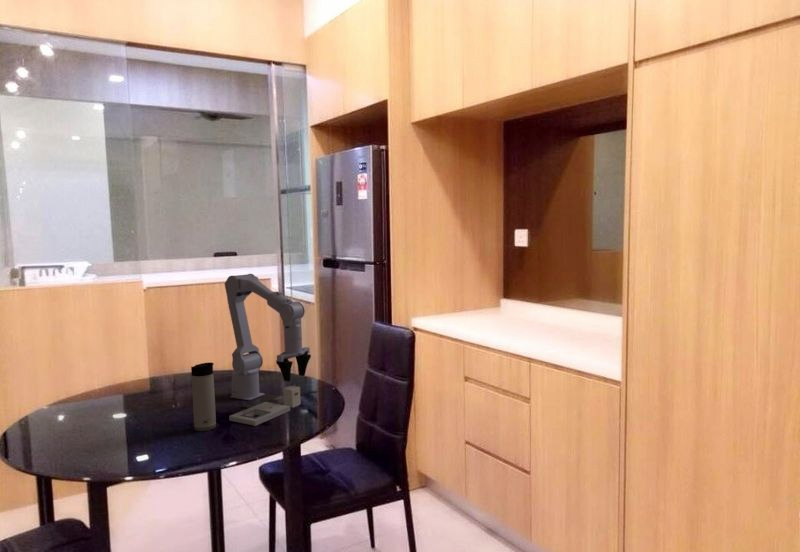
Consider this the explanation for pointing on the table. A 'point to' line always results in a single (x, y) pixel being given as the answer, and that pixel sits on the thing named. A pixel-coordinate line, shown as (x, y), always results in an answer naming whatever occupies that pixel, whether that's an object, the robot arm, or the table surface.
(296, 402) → the block
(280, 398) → the cable plug
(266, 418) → the outlet plate
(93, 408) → the table surface
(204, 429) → the travel mug
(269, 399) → the phone
